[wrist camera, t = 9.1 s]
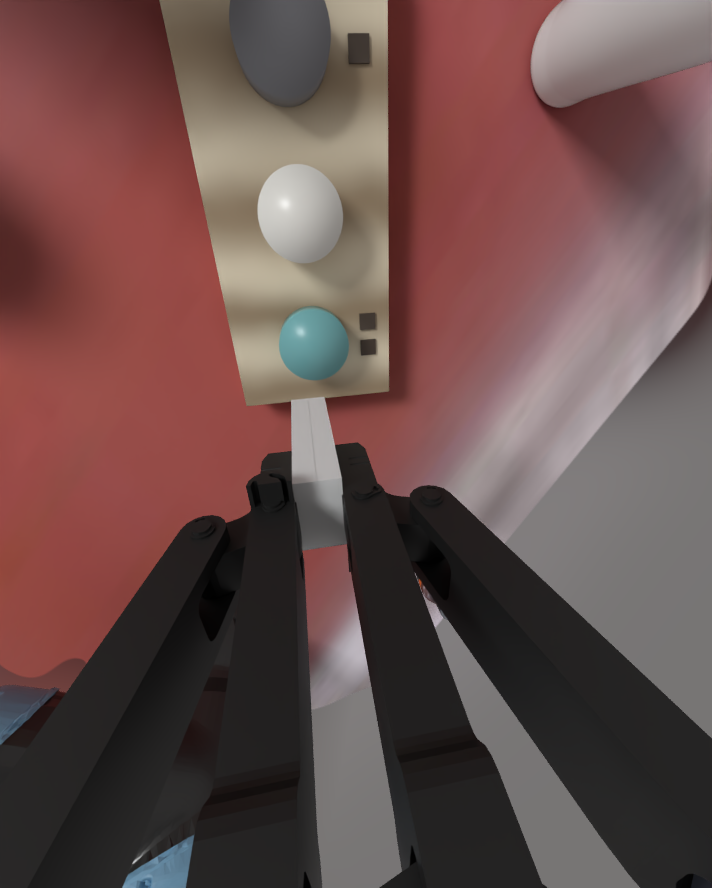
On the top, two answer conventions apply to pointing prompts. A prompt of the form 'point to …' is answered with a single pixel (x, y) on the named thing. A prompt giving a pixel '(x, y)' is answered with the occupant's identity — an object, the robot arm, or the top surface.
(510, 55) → the top surface
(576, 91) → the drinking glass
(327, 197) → the white button
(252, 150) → the button panel
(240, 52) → the grey button
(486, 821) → the robot arm
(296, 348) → the teal button
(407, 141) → the top surface
